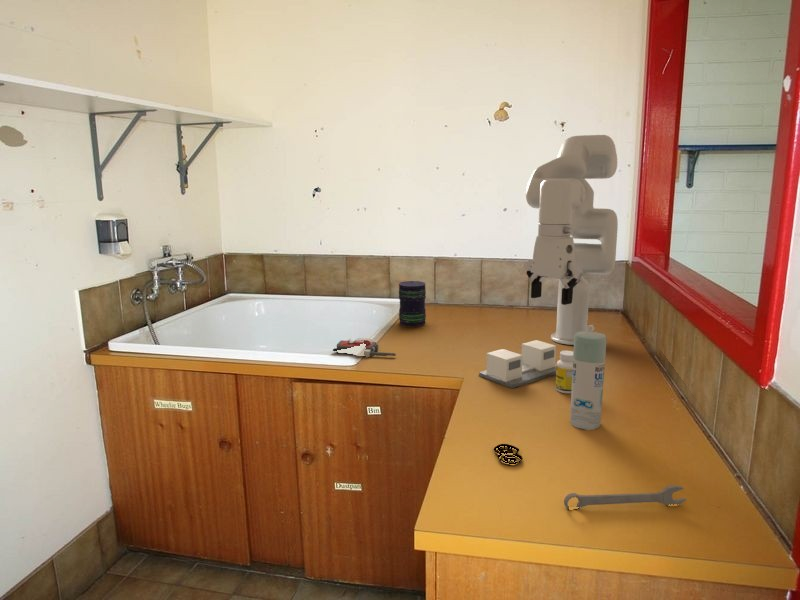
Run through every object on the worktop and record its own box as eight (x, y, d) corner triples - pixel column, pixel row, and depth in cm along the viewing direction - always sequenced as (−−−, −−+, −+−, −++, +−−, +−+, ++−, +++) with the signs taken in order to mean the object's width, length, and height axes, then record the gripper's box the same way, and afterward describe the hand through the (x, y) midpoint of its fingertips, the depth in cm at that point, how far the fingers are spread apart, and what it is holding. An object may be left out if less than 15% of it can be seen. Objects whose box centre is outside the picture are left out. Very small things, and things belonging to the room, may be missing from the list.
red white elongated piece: (330, 356, 172) (395, 360, 169) (330, 342, 172) (395, 346, 168) (338, 348, 181) (400, 351, 177) (338, 335, 180) (400, 337, 176)
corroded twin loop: (499, 468, 106) (499, 463, 106) (491, 448, 114) (491, 443, 113) (526, 467, 106) (526, 462, 106) (515, 447, 114) (516, 442, 114)
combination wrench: (565, 494, 91) (689, 488, 91) (563, 489, 92) (685, 484, 93) (565, 515, 92) (687, 509, 92) (562, 510, 93) (683, 504, 93)
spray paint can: (596, 432, 119) (602, 341, 115) (565, 426, 122) (570, 336, 118) (603, 421, 124) (610, 333, 120) (574, 415, 128) (578, 329, 124)
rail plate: (529, 361, 165) (529, 356, 165) (562, 372, 156) (563, 366, 155) (479, 375, 154) (479, 370, 153) (512, 388, 144) (512, 383, 144)
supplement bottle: (552, 386, 145) (554, 349, 143) (572, 385, 146) (574, 349, 144) (559, 394, 140) (561, 356, 138) (581, 393, 140) (583, 355, 138)
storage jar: (426, 326, 204) (426, 286, 200) (398, 327, 204) (398, 286, 201) (425, 320, 213) (425, 280, 210) (399, 320, 214) (398, 281, 210)
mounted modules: (535, 360, 163) (536, 340, 161) (555, 366, 157) (556, 345, 156) (486, 374, 152) (486, 353, 150) (506, 382, 146) (507, 359, 145)
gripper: (594, 232, 132) (589, 304, 136) (537, 228, 146) (534, 293, 150) (573, 234, 128) (569, 308, 132) (516, 229, 142) (514, 296, 146)
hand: (550, 300), depth 141 cm, fingers open, 9 cm apart
